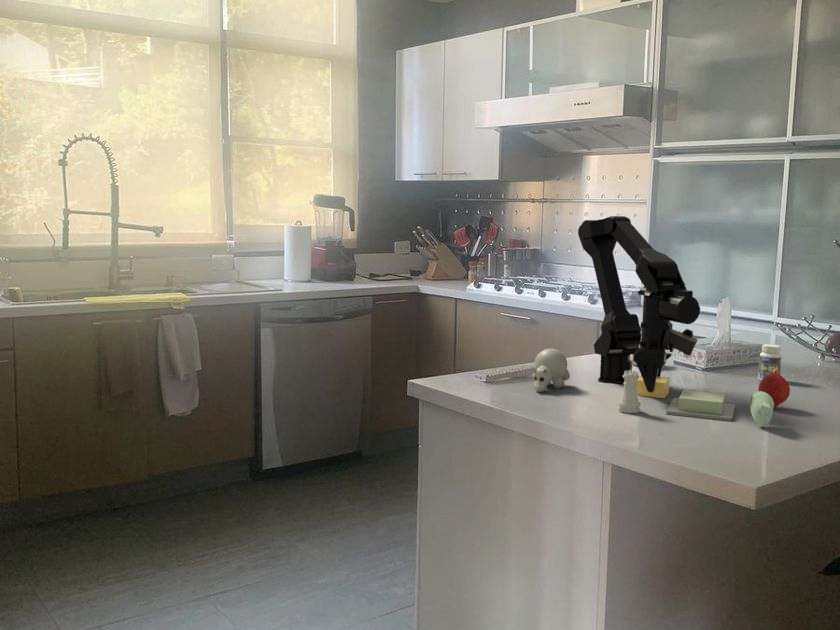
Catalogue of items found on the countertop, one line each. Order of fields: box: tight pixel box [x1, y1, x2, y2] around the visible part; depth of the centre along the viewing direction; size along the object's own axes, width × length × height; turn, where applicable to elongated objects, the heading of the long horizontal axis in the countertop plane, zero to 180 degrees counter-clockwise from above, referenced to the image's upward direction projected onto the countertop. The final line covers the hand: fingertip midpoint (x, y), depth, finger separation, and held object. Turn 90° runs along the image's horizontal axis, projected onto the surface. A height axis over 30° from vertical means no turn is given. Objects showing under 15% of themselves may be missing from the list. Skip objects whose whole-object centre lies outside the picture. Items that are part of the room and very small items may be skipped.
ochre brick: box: [637, 375, 671, 399], centre depth 175 cm, size 6×6×4 cm
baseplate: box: [666, 389, 736, 422], centre depth 160 cm, size 12×12×3 cm
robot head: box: [749, 390, 775, 428], centre depth 149 cm, size 8×4×7 cm, turn 157°
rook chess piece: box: [617, 370, 642, 415], centre depth 159 cm, size 4×4×8 cm
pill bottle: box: [757, 343, 782, 382], centre depth 190 cm, size 5×5×8 cm
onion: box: [757, 369, 791, 409], centre depth 163 cm, size 6×6×8 cm
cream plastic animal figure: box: [531, 348, 571, 393], centre depth 178 cm, size 7×12×8 cm, turn 145°
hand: (652, 388), depth 175 cm, fingers open, 6 cm apart
